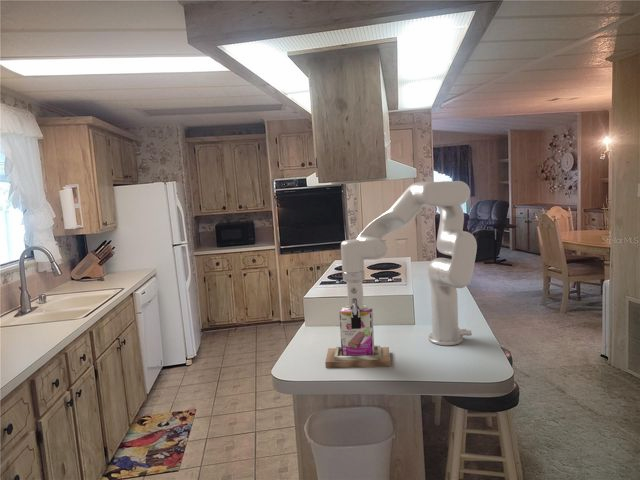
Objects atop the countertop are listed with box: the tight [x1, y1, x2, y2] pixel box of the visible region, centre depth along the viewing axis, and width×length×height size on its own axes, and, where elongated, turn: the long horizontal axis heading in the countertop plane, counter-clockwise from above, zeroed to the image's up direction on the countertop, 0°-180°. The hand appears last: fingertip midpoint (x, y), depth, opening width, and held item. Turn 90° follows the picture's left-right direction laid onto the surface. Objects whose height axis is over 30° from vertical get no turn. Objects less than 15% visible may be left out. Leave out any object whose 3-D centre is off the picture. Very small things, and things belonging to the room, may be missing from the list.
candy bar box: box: [339, 307, 375, 356], centre depth 150 cm, size 11×5×16 cm, turn 77°
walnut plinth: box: [324, 344, 392, 369], centre depth 152 cm, size 22×12×3 cm, turn 84°
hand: (356, 323), depth 150 cm, fingers open, 9 cm apart
